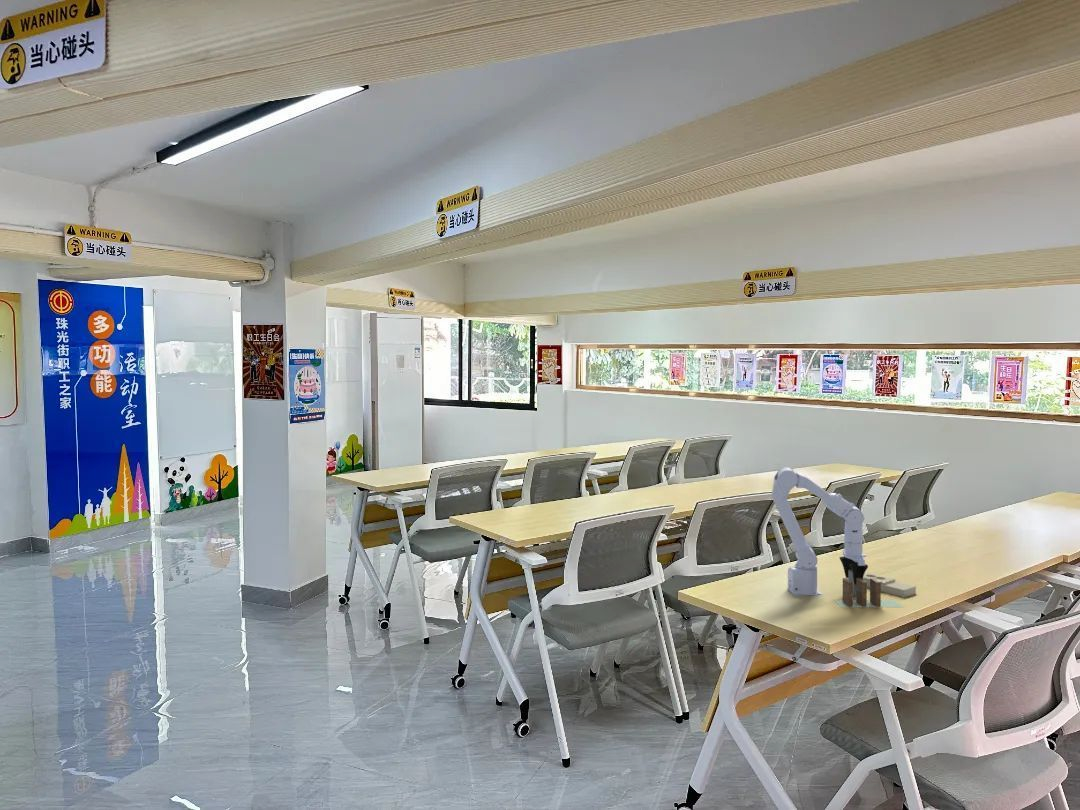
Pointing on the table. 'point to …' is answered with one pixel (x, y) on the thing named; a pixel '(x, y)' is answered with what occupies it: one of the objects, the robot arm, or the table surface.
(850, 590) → the walnut domino
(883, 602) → the sage mat
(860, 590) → the walnut domino
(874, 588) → the walnut domino
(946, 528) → the table surface
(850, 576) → the charcoal end domino
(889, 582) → the electrical outlet
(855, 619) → the table surface
